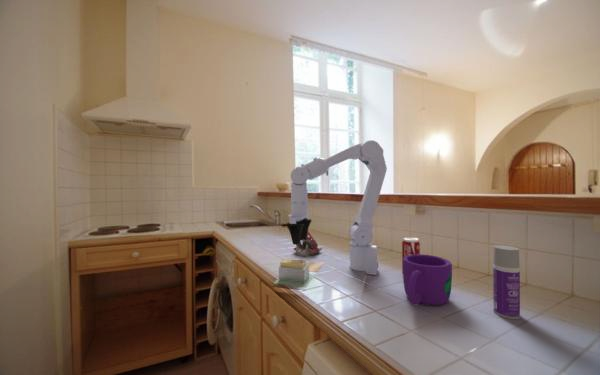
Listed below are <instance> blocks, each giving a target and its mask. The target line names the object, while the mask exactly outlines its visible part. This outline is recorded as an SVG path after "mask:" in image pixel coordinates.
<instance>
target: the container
mask: <svg viewBox="0 0 600 375" xmlns="http://www.w3.org/2000/svg"><path fill="white" fill-rule="evenodd" d="M492 259H493V260H492V261H493V264H492V265H493V266H492V279H493V280H492V287H493V288H492V290H493V291H492V292H493V293H492V294H493V295H492V296H493V298H492V302H493V304H492V305H493V310H492V311H493V313H494V314H495V315H497V316H499V317H502V318H505V319H510V320H519V319H520V318H521V275H520V272H521V269H520V264H521V263H520V249H519V248H518V247H515V246H510V245H502V244H501V245H500V244H499V245H498V244H497V245H493V258H492Z"/></svg>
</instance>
